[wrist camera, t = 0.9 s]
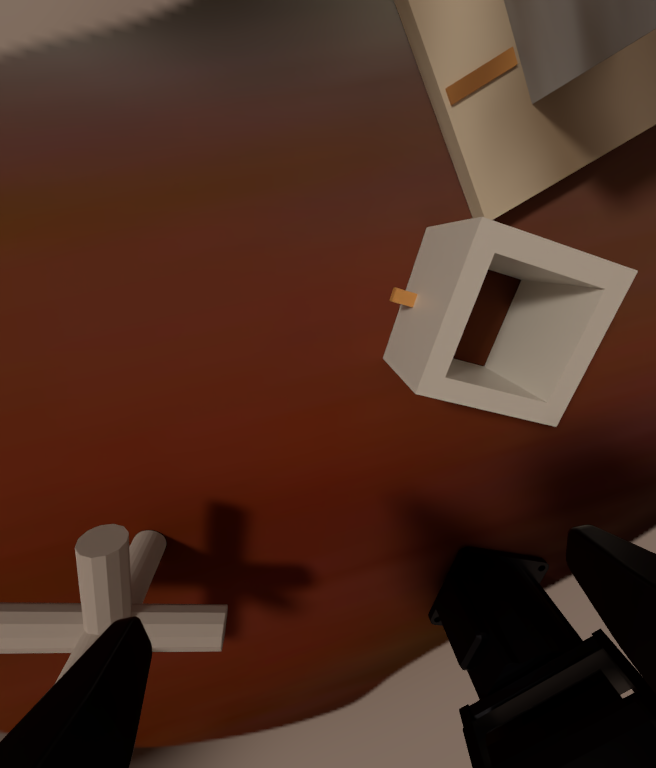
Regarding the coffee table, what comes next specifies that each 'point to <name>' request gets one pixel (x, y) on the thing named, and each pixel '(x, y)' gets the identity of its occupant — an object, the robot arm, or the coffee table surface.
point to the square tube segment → (520, 327)
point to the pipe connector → (111, 603)
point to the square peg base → (532, 87)
